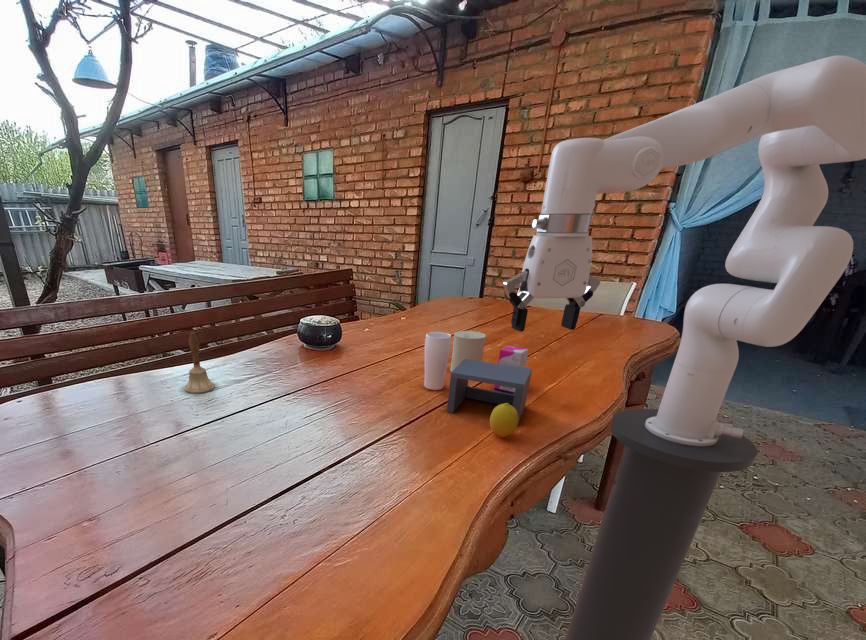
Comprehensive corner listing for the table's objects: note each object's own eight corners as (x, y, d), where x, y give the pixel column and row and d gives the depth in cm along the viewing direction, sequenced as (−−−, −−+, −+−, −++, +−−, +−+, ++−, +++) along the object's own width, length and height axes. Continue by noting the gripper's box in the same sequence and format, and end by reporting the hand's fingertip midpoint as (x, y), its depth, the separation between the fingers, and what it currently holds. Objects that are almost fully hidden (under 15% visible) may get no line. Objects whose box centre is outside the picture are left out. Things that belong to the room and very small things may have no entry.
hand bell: (218, 382, 124) (211, 328, 117) (209, 393, 116) (202, 336, 110) (190, 382, 124) (181, 328, 118) (180, 393, 116) (170, 336, 110)
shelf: (524, 407, 105) (532, 368, 101) (516, 426, 96) (524, 384, 92) (460, 395, 113) (464, 358, 109) (446, 411, 103) (450, 372, 99)
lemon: (510, 431, 94) (516, 398, 90) (518, 443, 89) (524, 409, 85) (484, 430, 94) (489, 397, 91) (490, 442, 89) (496, 408, 86)
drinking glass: (416, 388, 118) (420, 335, 112) (428, 381, 123) (432, 330, 117) (439, 393, 114) (444, 339, 108) (450, 386, 119) (456, 334, 113)
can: (444, 371, 130) (448, 333, 125) (458, 364, 136) (462, 327, 132) (473, 378, 124) (478, 338, 120) (486, 370, 131) (491, 332, 126)
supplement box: (522, 388, 117) (529, 348, 112) (514, 394, 113) (521, 353, 108) (501, 383, 120) (507, 344, 116) (493, 389, 116) (499, 349, 112)
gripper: (526, 227, 66) (507, 335, 72) (628, 226, 67) (601, 332, 74) (502, 226, 72) (487, 325, 79) (596, 226, 74) (573, 322, 81)
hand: (542, 328), depth 77 cm, fingers open, 9 cm apart
